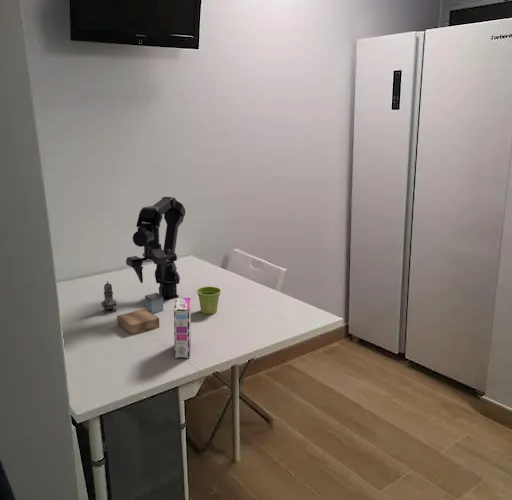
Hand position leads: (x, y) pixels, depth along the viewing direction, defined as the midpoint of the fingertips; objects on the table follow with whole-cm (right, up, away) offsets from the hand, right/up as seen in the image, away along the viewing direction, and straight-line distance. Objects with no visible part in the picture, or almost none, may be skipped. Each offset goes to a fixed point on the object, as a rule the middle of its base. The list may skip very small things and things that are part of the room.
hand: (152, 280), depth 199 cm
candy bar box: (+16, -21, -30) cm, 40 cm away
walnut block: (-3, -16, -11) cm, 20 cm away
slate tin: (0, -12, +3) cm, 12 cm away
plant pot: (+21, -12, +3) cm, 25 cm away
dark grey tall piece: (-17, -12, +2) cm, 21 cm away
